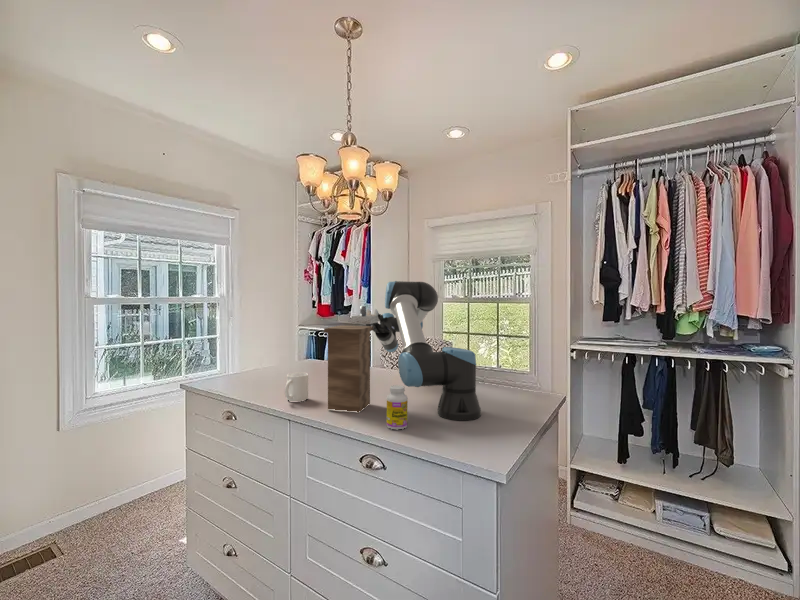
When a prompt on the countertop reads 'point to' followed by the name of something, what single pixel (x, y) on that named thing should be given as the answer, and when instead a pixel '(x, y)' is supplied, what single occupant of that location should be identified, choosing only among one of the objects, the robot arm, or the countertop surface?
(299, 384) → the mug
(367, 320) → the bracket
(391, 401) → the supplement bottle
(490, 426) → the countertop surface
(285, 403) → the countertop surface
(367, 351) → the post
